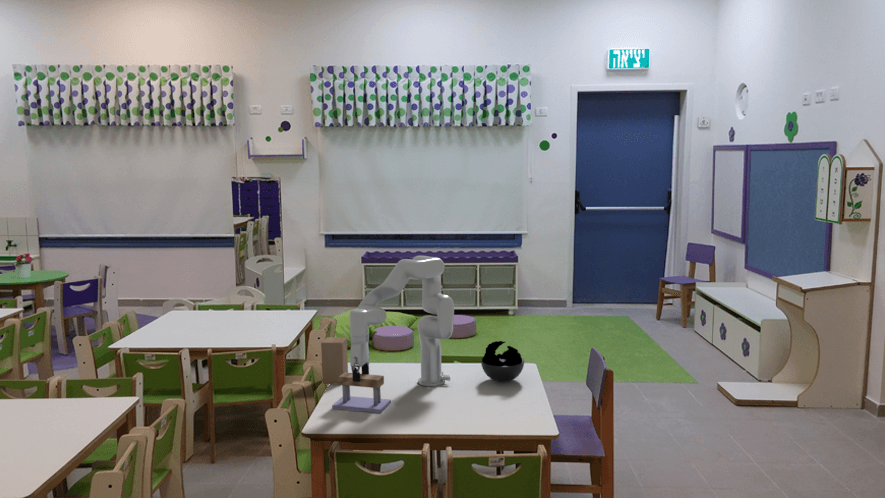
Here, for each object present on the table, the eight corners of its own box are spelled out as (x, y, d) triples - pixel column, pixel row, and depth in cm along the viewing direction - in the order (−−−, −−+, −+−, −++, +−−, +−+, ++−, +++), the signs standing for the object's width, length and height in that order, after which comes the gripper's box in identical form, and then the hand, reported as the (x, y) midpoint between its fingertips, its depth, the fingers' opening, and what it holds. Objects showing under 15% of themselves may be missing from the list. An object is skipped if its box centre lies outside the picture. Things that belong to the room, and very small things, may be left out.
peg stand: (391, 403, 297) (390, 381, 296) (381, 413, 286) (380, 390, 284) (343, 398, 303) (343, 377, 302) (332, 408, 292) (331, 386, 290)
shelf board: (339, 384, 293) (338, 376, 293) (345, 380, 299) (344, 372, 298) (378, 388, 288) (378, 380, 287) (383, 383, 293) (383, 375, 293)
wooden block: (348, 377, 332) (346, 337, 330) (343, 384, 323) (341, 342, 320) (328, 377, 333) (326, 336, 331) (322, 384, 324) (320, 342, 321)
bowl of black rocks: (480, 374, 333) (480, 336, 331) (522, 374, 332) (522, 336, 330) (481, 388, 314) (481, 348, 311) (525, 388, 313) (525, 347, 310)
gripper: (359, 332, 300) (360, 371, 302) (342, 343, 283) (344, 383, 286) (375, 333, 298) (376, 372, 300) (359, 344, 281) (361, 385, 284)
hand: (361, 377), depth 293 cm, fingers open, 9 cm apart
